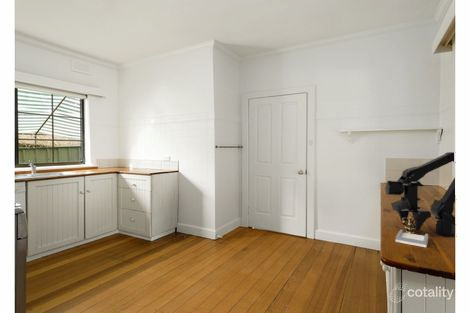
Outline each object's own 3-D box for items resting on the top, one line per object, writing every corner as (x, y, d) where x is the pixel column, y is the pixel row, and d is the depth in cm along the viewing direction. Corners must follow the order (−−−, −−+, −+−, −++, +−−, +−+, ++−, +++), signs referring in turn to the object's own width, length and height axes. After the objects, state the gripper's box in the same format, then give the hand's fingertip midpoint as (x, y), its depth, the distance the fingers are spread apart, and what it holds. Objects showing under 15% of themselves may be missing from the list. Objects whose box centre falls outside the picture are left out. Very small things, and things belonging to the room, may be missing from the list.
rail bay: (400, 233, 124) (400, 229, 124) (428, 238, 117) (428, 233, 117) (395, 241, 114) (395, 236, 114) (426, 247, 107) (426, 242, 107)
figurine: (400, 230, 129) (402, 214, 128) (410, 230, 129) (411, 214, 128) (408, 234, 124) (409, 217, 123) (417, 234, 124) (419, 217, 123)
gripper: (382, 192, 134) (382, 222, 135) (407, 199, 116) (407, 234, 116) (403, 192, 135) (403, 222, 135) (432, 199, 116) (431, 233, 117)
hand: (410, 227), depth 126 cm, fingers open, 9 cm apart
